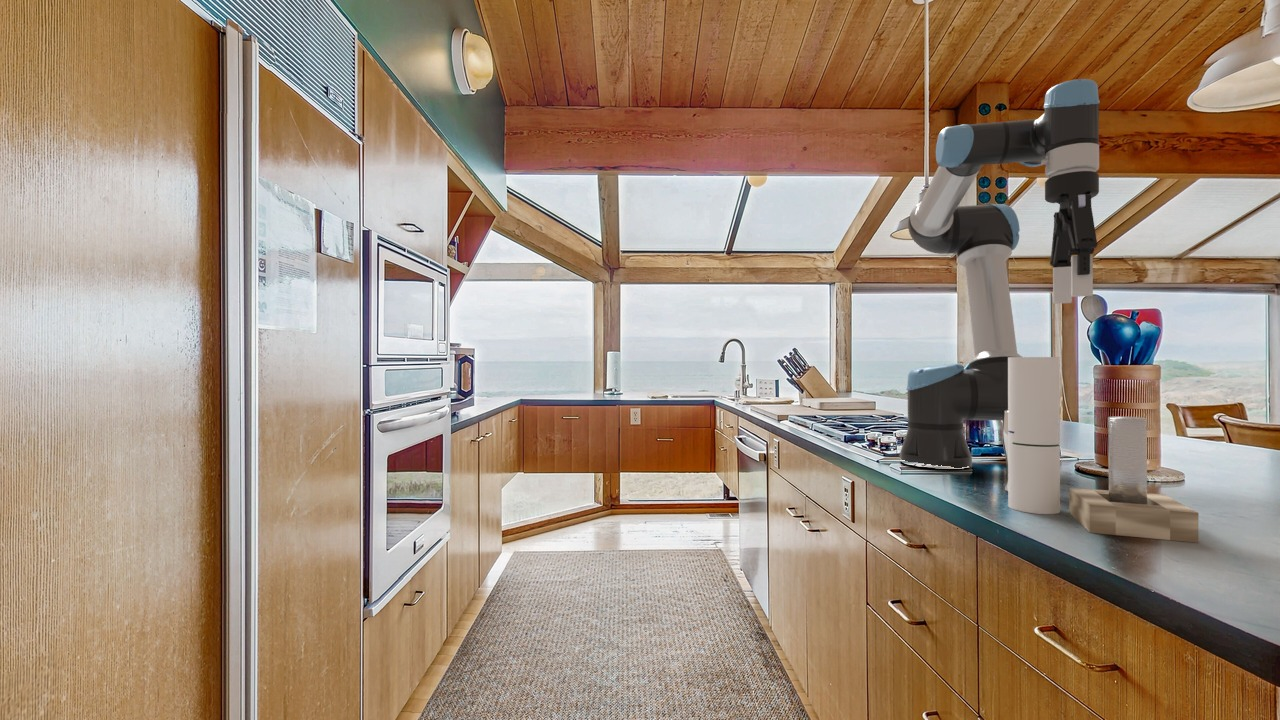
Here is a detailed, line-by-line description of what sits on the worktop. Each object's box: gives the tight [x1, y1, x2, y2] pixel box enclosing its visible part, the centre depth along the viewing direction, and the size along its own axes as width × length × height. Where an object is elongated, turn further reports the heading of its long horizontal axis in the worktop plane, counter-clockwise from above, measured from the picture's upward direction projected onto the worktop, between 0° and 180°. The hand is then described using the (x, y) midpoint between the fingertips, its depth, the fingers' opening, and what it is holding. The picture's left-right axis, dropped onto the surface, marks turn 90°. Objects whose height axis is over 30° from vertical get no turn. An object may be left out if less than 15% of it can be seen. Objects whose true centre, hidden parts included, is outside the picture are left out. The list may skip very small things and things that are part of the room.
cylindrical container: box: [1007, 356, 1061, 515], centre depth 100 cm, size 7×7×25 cm
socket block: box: [1068, 487, 1199, 543], centre depth 89 cm, size 12×12×4 cm
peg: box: [1107, 415, 1148, 505], centre depth 89 cm, size 4×4×16 cm
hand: (1071, 300), depth 103 cm, fingers open, 13 cm apart
